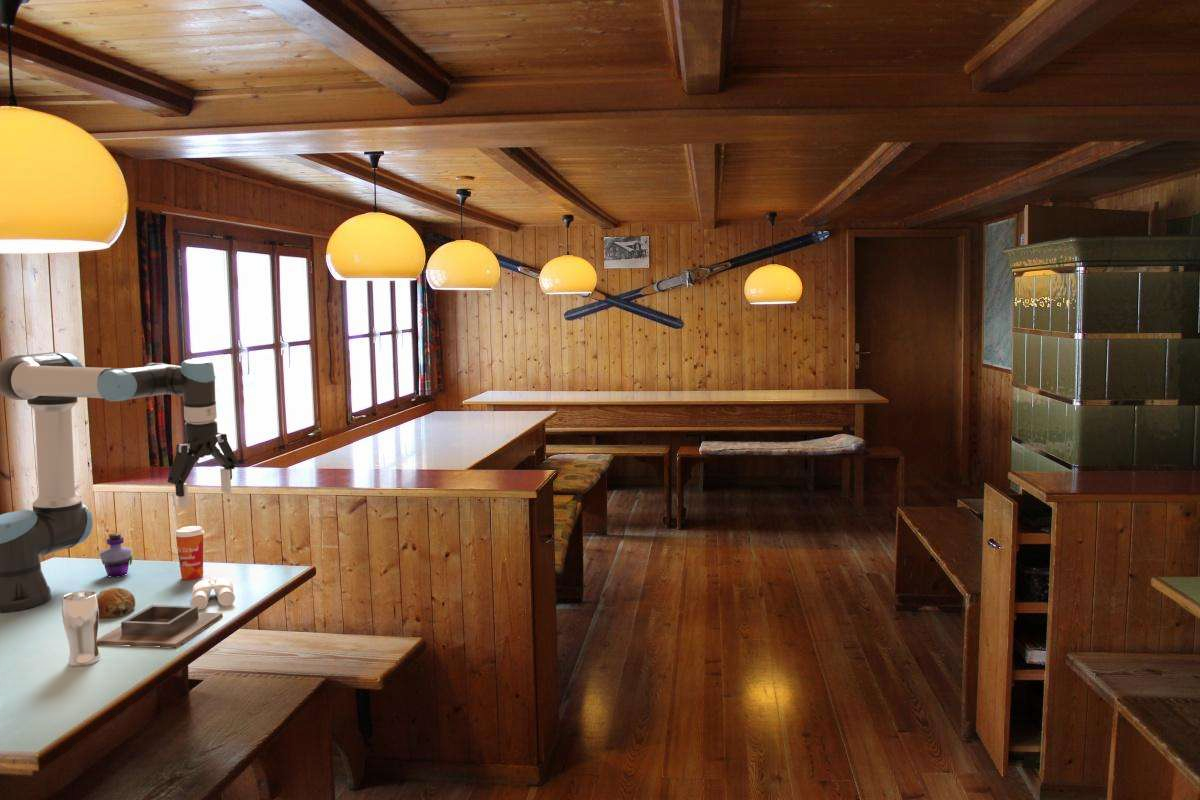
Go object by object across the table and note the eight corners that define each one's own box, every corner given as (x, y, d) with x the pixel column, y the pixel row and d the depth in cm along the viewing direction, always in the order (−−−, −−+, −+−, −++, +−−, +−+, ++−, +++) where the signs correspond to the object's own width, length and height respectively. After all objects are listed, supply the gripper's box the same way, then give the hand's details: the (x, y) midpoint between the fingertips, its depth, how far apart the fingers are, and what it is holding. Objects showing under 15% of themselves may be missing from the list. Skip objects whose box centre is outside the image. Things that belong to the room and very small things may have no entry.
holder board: (95, 644, 213) (93, 628, 212) (148, 614, 232) (146, 599, 232) (176, 648, 210) (174, 631, 210) (222, 617, 230) (221, 601, 229)
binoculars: (191, 612, 235) (190, 594, 234) (192, 593, 249) (191, 576, 249) (235, 606, 239) (234, 588, 238) (233, 588, 253) (232, 571, 253)
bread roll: (137, 618, 240) (136, 588, 242) (133, 614, 231) (132, 582, 233) (94, 624, 236) (93, 593, 238) (88, 619, 227) (88, 587, 229)
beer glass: (91, 667, 200) (85, 600, 198) (59, 667, 200) (53, 600, 198) (109, 654, 207) (103, 589, 205) (78, 654, 207) (72, 590, 205)
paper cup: (172, 581, 259) (169, 532, 257) (185, 572, 267) (182, 525, 265) (199, 581, 259) (196, 532, 257) (212, 572, 266) (209, 525, 265)
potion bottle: (138, 574, 265) (135, 534, 264) (105, 581, 260) (102, 539, 258) (129, 568, 272) (126, 528, 270) (96, 574, 266) (93, 534, 264)
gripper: (169, 434, 221) (175, 517, 226) (249, 412, 243) (253, 488, 248) (148, 429, 224) (154, 511, 229) (228, 408, 246) (232, 484, 251)
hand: (205, 500), depth 239 cm, fingers open, 13 cm apart
